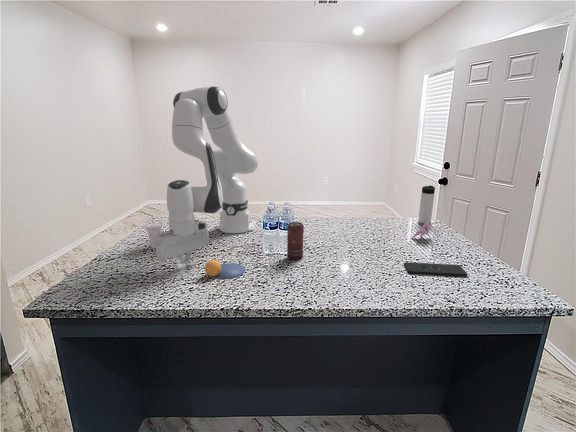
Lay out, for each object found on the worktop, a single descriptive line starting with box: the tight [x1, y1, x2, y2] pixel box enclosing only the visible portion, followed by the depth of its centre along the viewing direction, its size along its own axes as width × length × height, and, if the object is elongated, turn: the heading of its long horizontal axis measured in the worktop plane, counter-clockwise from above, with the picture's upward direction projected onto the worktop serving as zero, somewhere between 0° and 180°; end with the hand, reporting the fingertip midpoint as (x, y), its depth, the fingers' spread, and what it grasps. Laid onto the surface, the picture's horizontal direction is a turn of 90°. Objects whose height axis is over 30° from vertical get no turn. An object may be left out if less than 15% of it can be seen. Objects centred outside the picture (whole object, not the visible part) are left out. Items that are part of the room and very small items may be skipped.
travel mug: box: [417, 185, 436, 226], centre depth 178 cm, size 6×7×20 cm
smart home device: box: [403, 261, 468, 278], centre depth 123 cm, size 8×2×20 cm
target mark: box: [210, 262, 246, 280], centre depth 121 cm, size 13×13×1 cm
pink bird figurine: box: [411, 221, 436, 243], centre depth 154 cm, size 12×12×10 cm
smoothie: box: [145, 215, 163, 249], centre depth 142 cm, size 6×6×14 cm
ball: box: [204, 259, 221, 277], centre depth 117 cm, size 6×6×6 cm
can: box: [286, 221, 305, 261], centre depth 131 cm, size 6×6×14 cm
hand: (185, 263), depth 123 cm, fingers closed
